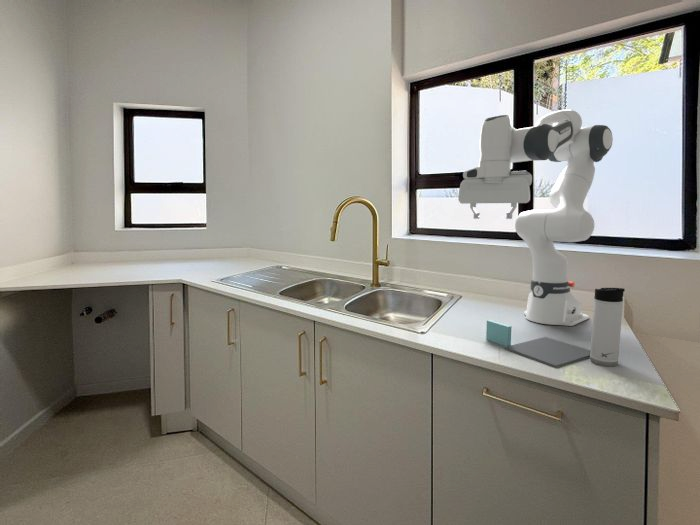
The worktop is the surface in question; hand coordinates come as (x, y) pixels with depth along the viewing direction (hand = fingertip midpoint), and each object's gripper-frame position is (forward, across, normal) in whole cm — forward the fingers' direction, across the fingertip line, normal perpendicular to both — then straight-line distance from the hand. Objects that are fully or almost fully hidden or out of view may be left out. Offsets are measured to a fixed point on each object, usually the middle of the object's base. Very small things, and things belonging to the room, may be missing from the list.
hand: (492, 218), depth 124 cm
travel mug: (+37, -30, +9) cm, 49 cm away
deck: (+37, -4, +4) cm, 37 cm away
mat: (+37, -18, +6) cm, 41 cm away
